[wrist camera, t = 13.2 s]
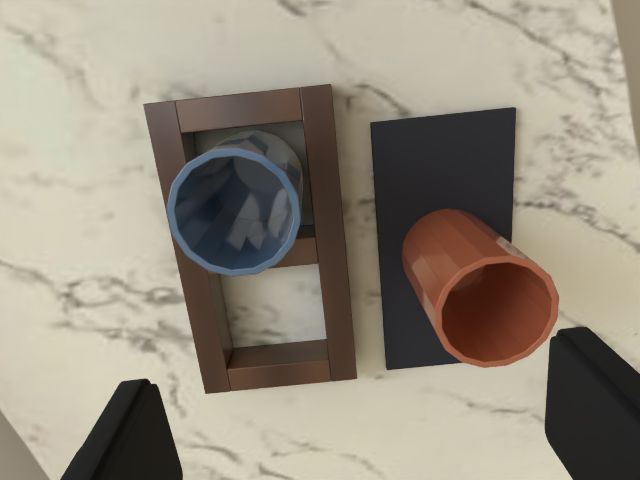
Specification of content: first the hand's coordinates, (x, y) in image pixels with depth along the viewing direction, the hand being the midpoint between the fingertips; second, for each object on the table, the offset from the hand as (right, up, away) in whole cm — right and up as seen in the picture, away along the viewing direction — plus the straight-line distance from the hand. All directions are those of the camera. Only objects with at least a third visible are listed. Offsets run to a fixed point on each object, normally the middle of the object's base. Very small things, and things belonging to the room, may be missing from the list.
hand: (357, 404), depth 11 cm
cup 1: (-6, +8, +22) cm, 24 cm away
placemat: (+9, +3, +24) cm, 26 cm away
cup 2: (+9, +3, +24) cm, 26 cm away
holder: (-5, +4, +24) cm, 25 cm away
